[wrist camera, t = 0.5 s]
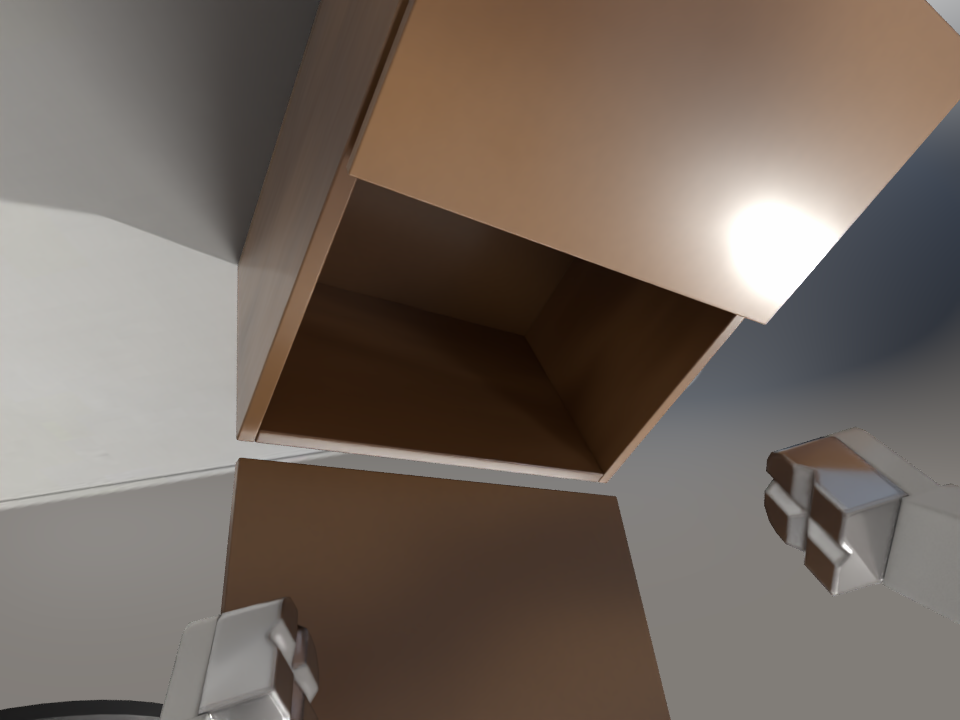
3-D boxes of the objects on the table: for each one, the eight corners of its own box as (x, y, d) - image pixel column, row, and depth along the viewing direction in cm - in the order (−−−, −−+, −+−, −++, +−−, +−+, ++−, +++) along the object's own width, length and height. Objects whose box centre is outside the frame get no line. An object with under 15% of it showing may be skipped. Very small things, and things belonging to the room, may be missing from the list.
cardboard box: (524, 339, 31) (616, 499, 23) (237, 265, 24) (235, 462, 16) (744, -11, 23) (993, 63, 15) (407, -279, 16) (561, -392, 8)
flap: (616, 496, 23) (609, 499, 23) (239, 456, 16) (235, 462, 16) (679, 753, 19) (670, 754, 19) (200, 851, 12) (196, 850, 12)
